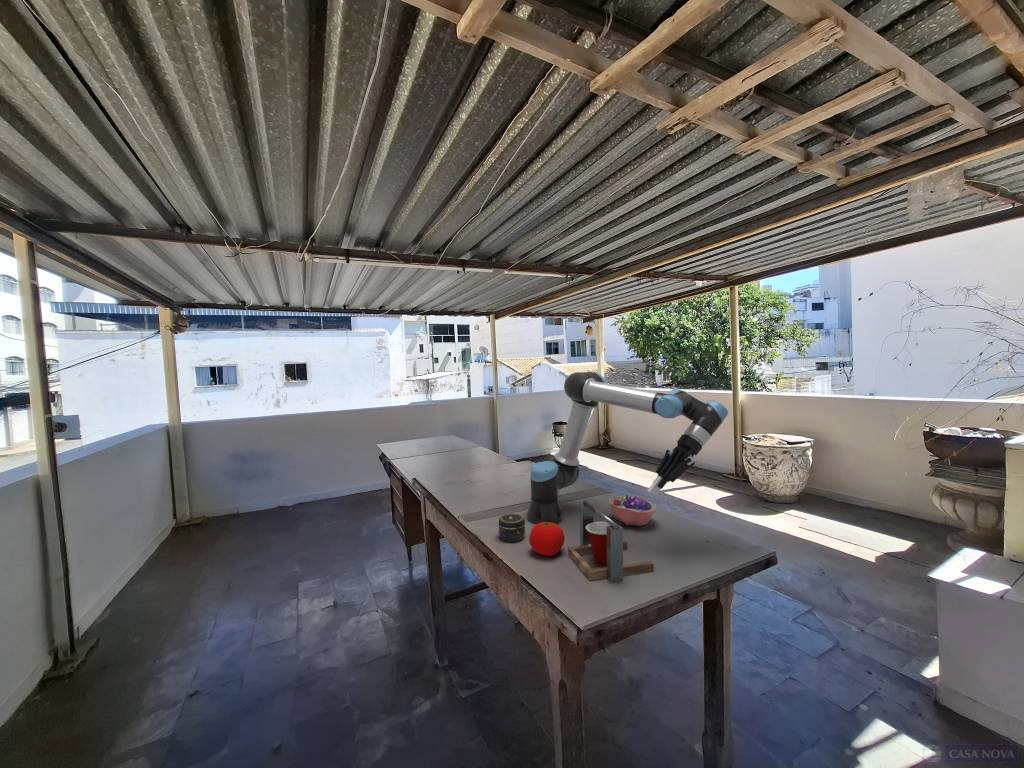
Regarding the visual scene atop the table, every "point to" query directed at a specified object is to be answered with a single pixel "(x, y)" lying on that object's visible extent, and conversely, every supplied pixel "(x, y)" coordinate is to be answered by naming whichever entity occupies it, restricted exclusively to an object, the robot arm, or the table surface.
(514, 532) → the jar
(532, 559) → the table surface
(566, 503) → the table surface
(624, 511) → the cell model
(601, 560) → the plastic cup
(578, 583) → the table surface
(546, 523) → the tomato
